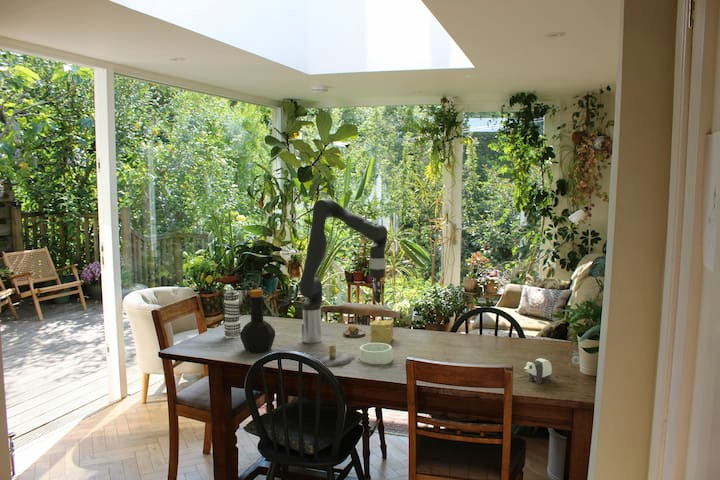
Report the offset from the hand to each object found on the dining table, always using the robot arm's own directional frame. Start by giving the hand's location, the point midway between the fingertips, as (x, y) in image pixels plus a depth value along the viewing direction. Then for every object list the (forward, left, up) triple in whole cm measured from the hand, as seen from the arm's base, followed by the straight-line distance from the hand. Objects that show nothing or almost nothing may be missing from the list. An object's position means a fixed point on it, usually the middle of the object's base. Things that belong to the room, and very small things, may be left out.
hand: (377, 300), depth 273 cm
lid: (-15, -20, -25) cm, 35 cm away
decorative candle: (-84, +1, -26) cm, 88 cm away
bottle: (-58, -15, -26) cm, 65 cm away
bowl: (+3, -11, -26) cm, 28 cm away
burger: (-23, +25, -26) cm, 43 cm away
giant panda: (+75, -15, -26) cm, 81 cm away
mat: (-15, -20, -26) cm, 36 cm away
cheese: (-5, +19, -26) cm, 32 cm away
